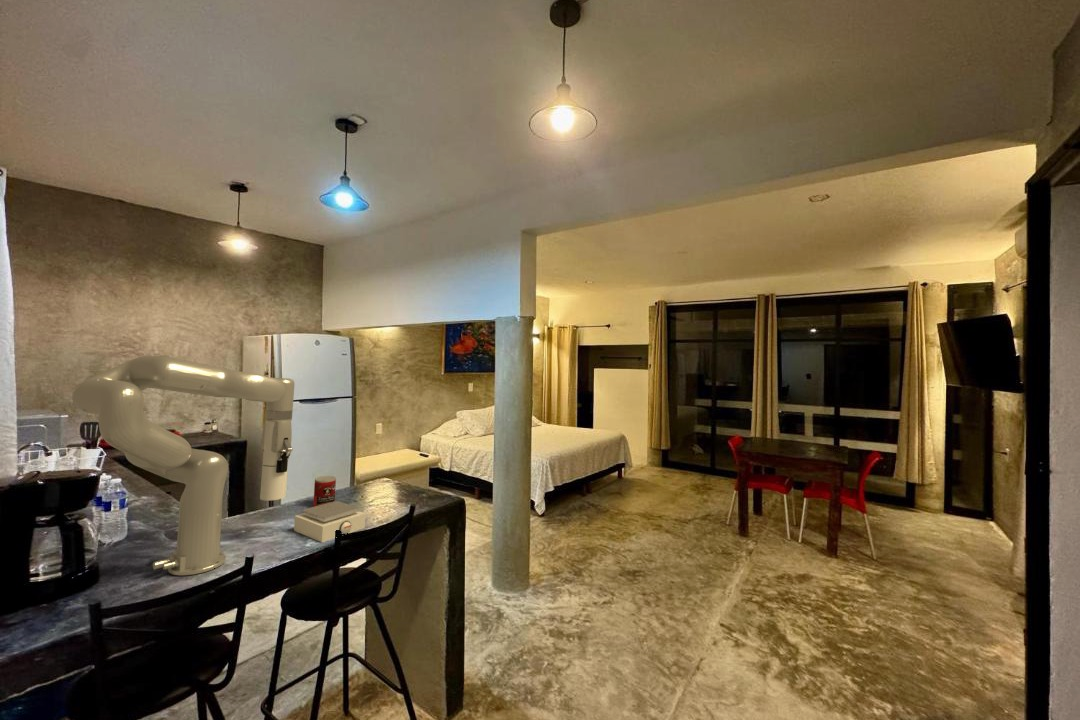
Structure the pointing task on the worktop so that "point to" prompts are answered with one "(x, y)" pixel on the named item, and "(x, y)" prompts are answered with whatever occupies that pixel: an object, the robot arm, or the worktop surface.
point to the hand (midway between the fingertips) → (274, 469)
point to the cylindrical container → (271, 470)
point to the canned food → (324, 490)
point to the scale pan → (330, 511)
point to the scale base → (328, 526)
